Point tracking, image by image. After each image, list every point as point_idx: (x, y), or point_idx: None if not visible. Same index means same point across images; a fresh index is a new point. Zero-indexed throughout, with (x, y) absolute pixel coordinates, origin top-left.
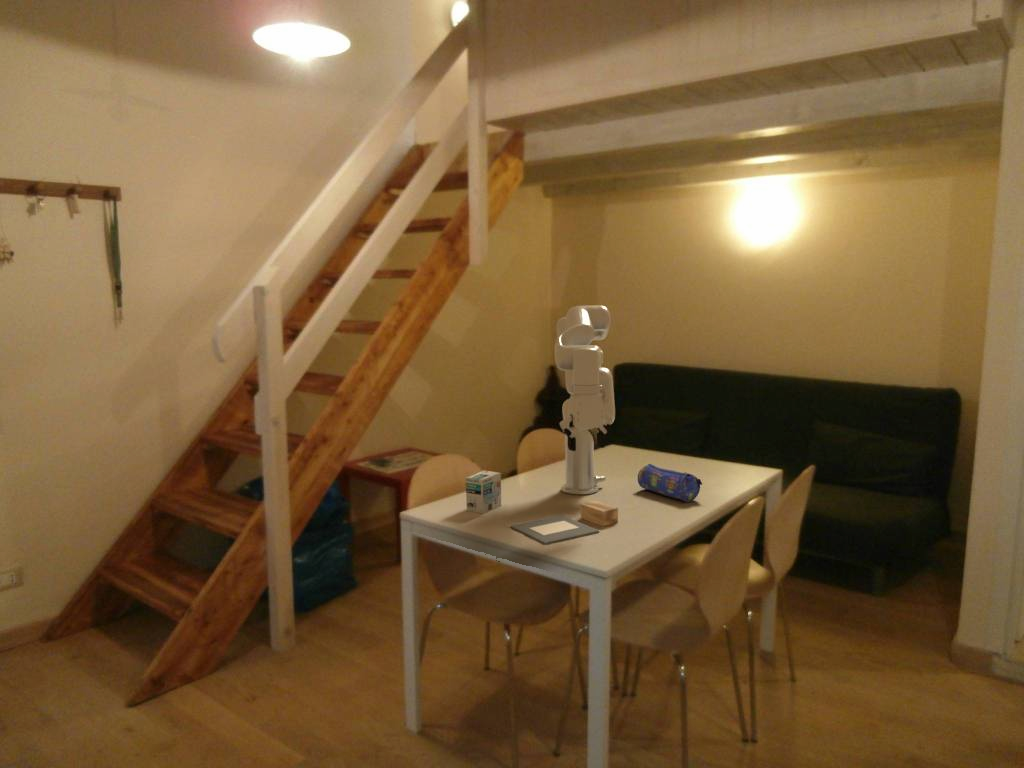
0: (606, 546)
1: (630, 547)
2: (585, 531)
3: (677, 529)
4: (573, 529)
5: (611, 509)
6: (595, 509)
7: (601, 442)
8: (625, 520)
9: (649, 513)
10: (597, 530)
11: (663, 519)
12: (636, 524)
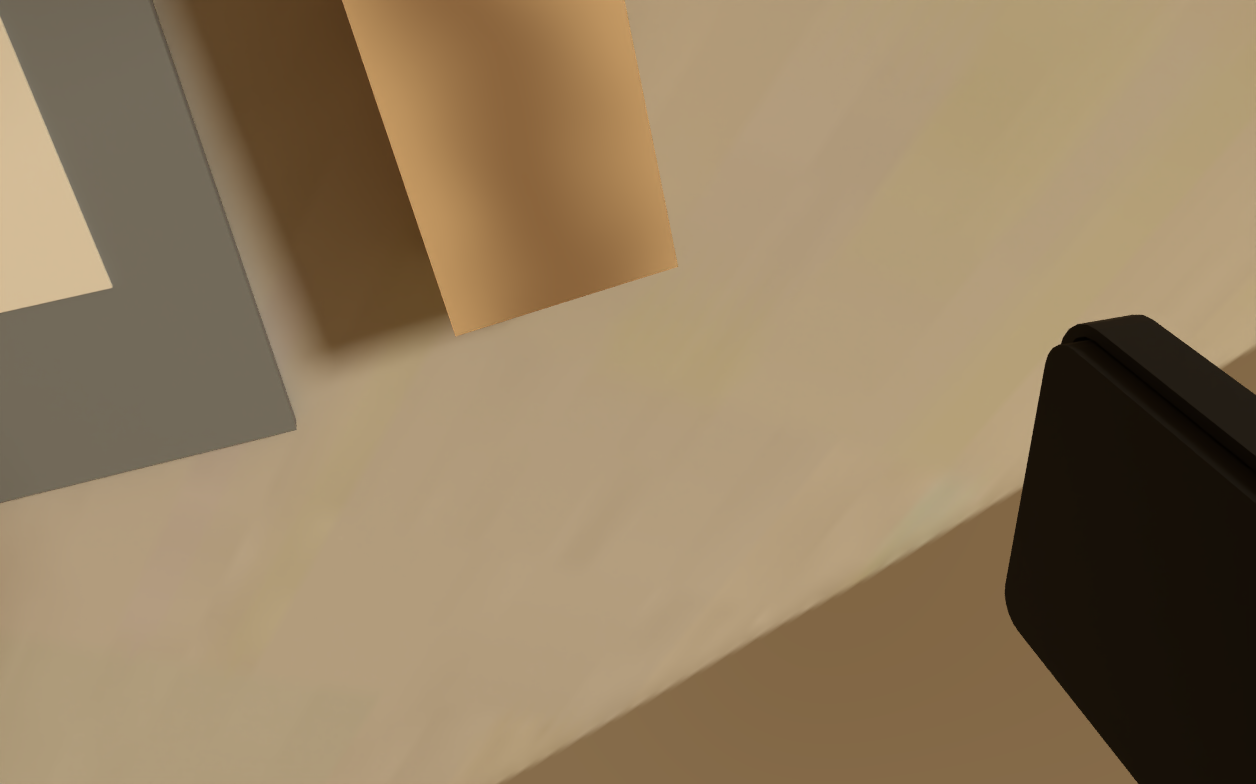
0: (213, 720)
1: (391, 762)
2: (142, 413)
3: (946, 518)
4: (21, 320)
5: (581, 291)
6: (409, 195)
7: (1100, 683)
8: (736, 169)
9: (1086, 47)
10: (281, 421)
11: (1047, 268)
12: (752, 316)
